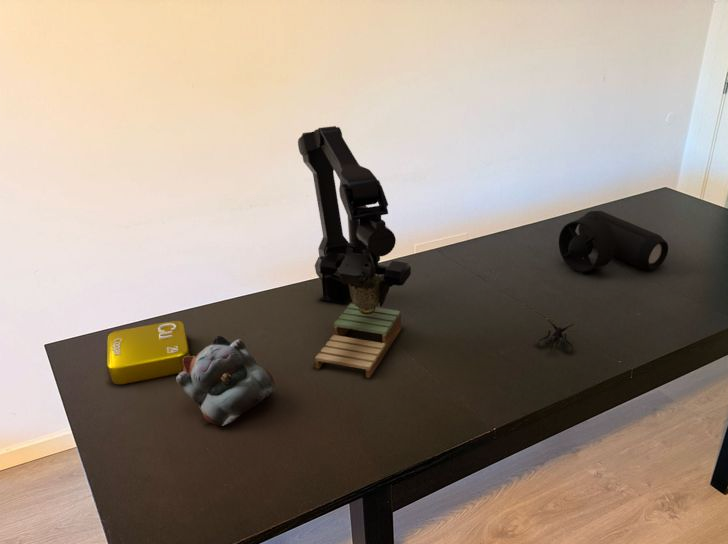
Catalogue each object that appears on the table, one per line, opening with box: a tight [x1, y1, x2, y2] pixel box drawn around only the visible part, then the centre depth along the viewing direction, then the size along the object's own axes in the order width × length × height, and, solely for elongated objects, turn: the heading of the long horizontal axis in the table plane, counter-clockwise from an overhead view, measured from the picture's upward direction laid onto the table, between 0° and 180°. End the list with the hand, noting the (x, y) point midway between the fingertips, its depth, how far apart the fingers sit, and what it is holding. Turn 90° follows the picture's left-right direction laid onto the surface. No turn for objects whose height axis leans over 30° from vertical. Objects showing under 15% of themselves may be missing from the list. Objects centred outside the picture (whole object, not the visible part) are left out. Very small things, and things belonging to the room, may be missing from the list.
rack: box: [314, 302, 402, 379], centre depth 141 cm, size 12×20×5 cm, turn 165°
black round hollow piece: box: [558, 214, 616, 274], centre depth 173 cm, size 14×14×10 cm
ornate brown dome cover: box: [348, 274, 382, 315], centre depth 141 cm, size 8×7×8 cm
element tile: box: [106, 320, 191, 385], centre depth 135 cm, size 15×15×5 cm
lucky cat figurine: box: [175, 335, 275, 427], centre depth 122 cm, size 15×12×14 cm
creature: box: [536, 318, 575, 354], centre depth 143 cm, size 8×5×8 cm
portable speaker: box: [578, 210, 669, 271], centre depth 182 cm, size 26×10×10 cm, turn 36°
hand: (366, 303), depth 142 cm, fingers closed on ornate brown dome cover, 6 cm apart
